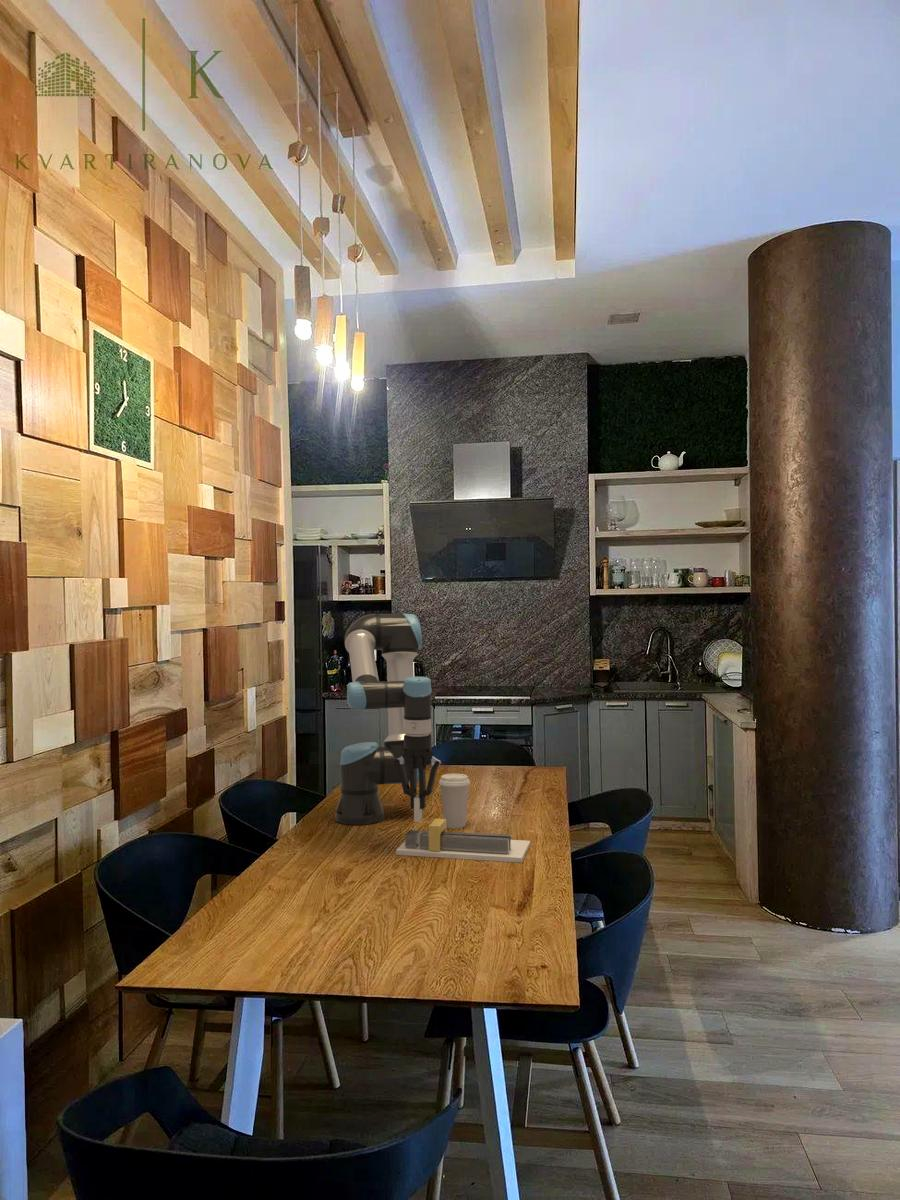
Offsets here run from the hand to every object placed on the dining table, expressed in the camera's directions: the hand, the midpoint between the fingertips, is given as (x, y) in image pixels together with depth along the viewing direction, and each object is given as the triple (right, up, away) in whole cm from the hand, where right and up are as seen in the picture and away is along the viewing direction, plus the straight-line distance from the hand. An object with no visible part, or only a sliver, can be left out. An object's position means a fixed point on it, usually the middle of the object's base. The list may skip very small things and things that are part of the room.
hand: (418, 820), depth 228 cm
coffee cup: (+10, -8, +25) cm, 28 cm away
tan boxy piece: (+5, -7, -2) cm, 9 cm away
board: (+13, -8, 0) cm, 15 cm away
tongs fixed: (+11, -7, -3) cm, 13 cm away
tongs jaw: (+13, -7, -2) cm, 15 cm away
